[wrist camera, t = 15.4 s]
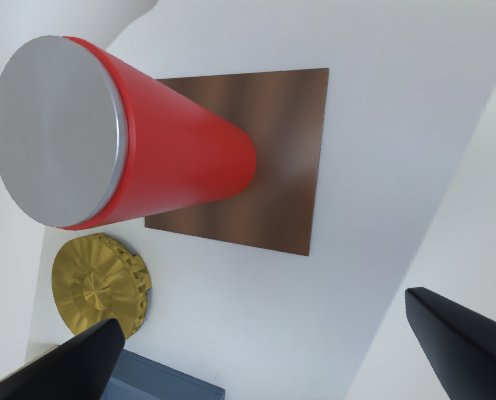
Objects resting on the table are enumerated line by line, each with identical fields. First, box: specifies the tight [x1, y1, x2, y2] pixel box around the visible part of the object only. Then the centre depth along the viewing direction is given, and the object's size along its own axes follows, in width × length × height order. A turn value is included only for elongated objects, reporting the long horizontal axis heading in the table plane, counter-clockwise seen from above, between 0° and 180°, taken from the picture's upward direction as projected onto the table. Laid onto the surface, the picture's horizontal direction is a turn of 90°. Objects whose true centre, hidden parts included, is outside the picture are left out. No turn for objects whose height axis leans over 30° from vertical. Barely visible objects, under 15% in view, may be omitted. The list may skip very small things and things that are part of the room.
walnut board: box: [145, 68, 329, 256], centre depth 20 cm, size 16×14×1 cm
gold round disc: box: [52, 233, 152, 340], centre depth 25 cm, size 12×12×2 cm
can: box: [0, 36, 257, 231], centre depth 14 cm, size 6×6×13 cm
